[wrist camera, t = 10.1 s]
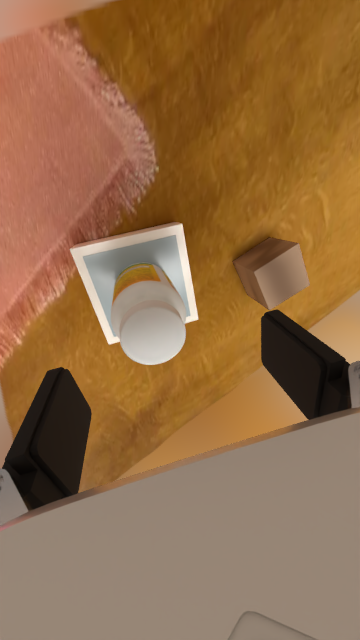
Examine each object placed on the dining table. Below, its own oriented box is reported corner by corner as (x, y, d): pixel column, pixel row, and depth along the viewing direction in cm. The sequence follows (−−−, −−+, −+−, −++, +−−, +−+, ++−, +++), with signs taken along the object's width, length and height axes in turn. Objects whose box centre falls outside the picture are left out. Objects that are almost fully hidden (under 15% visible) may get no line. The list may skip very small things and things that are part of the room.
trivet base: (175, 221, 23) (182, 223, 20) (191, 308, 28) (198, 320, 25) (76, 244, 22) (69, 249, 19) (110, 331, 27) (108, 345, 24)
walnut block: (269, 237, 26) (298, 243, 22) (281, 273, 28) (309, 285, 24) (232, 261, 26) (253, 271, 22) (247, 294, 29) (269, 310, 24)
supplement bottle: (179, 277, 22) (214, 319, 14) (153, 321, 24) (170, 383, 15) (129, 249, 20) (134, 279, 12) (104, 300, 22) (92, 358, 13)
